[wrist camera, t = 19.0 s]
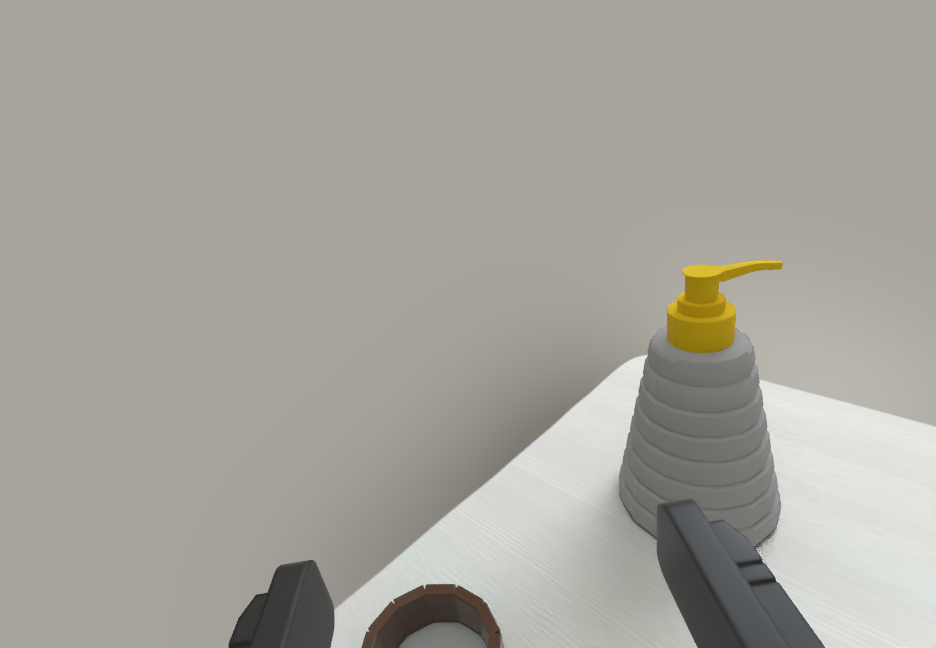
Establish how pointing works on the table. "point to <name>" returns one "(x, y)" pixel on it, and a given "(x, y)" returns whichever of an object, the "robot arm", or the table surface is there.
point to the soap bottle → (702, 415)
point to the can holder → (432, 615)
